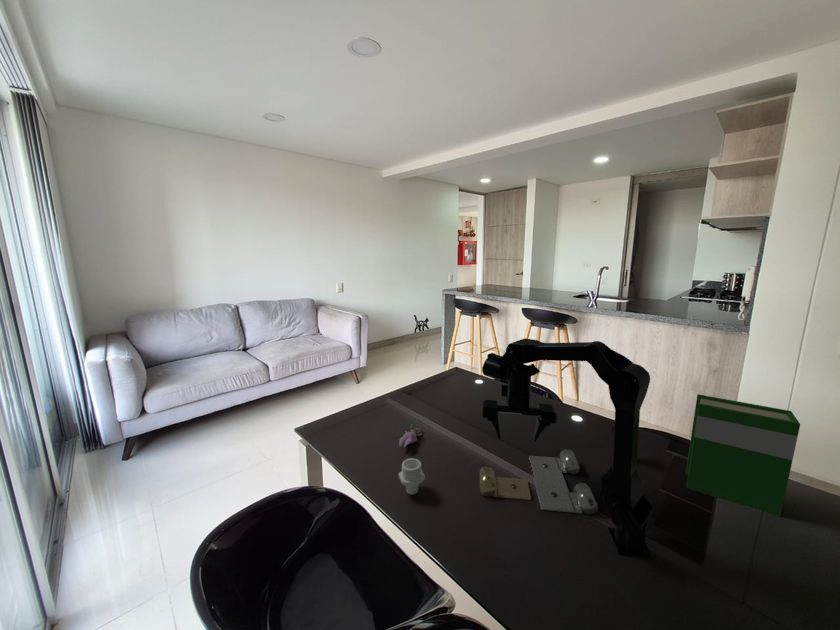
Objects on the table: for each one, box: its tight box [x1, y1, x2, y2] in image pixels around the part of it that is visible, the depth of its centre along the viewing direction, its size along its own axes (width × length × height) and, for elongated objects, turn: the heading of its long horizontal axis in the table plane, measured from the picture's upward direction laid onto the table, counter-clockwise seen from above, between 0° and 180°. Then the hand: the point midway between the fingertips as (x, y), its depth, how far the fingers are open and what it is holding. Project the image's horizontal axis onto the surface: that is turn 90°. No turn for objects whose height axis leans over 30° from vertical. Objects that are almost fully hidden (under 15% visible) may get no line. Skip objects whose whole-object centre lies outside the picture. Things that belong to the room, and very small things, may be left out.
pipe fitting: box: [398, 457, 426, 495], centre depth 92 cm, size 6×7×8 cm
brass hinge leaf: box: [479, 466, 532, 501], centre depth 93 cm, size 7×13×4 cm, turn 81°
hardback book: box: [685, 393, 801, 517], centre depth 87 cm, size 18×7×24 cm, turn 55°
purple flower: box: [398, 423, 423, 448], centre depth 116 cm, size 6×6×15 cm
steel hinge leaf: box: [528, 448, 599, 515], centre depth 94 cm, size 21×13×4 cm, turn 171°
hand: (516, 439), depth 94 cm, fingers open, 9 cm apart
